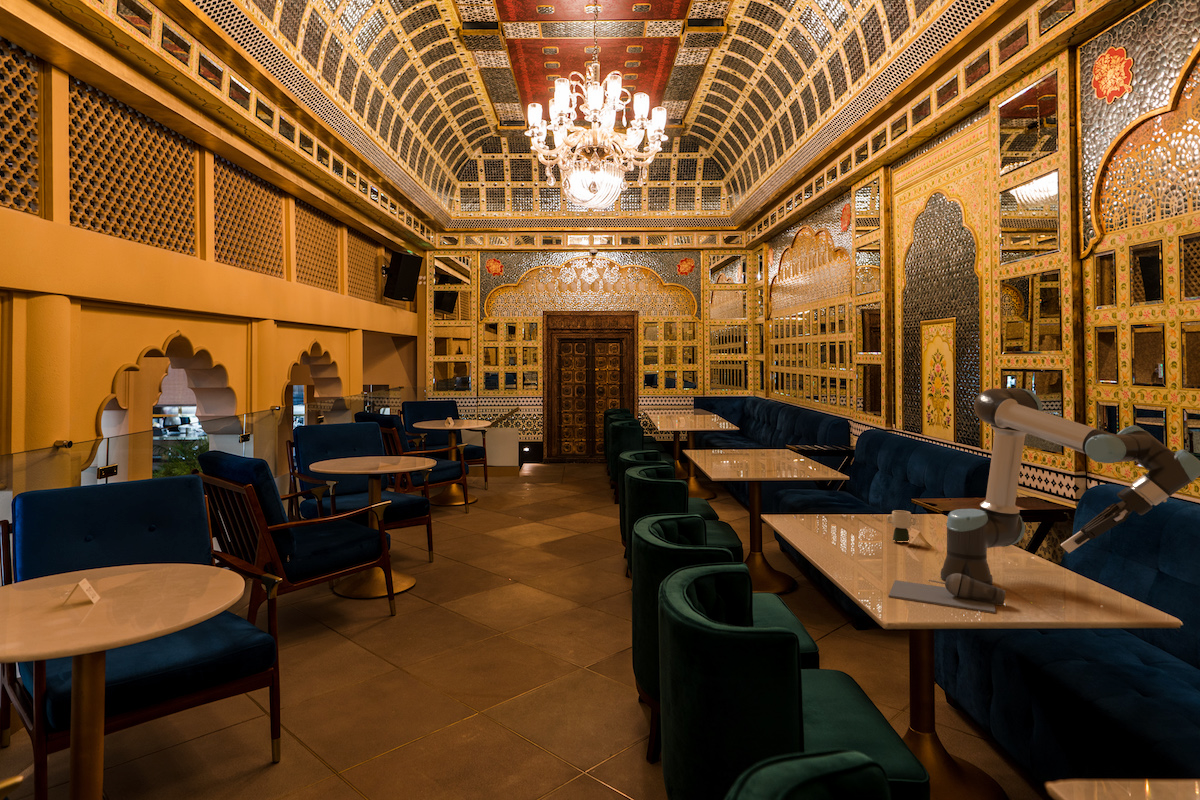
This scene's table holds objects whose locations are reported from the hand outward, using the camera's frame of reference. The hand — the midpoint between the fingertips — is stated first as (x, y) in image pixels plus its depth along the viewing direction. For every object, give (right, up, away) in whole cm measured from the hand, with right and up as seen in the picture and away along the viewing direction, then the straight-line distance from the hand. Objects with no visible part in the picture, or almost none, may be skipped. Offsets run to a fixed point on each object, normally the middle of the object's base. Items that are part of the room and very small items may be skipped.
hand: (1064, 548), depth 183 cm
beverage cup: (-13, -16, +7) cm, 22 cm away
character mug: (-7, -17, +84) cm, 86 cm away
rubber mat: (-27, -18, +15) cm, 36 cm away
